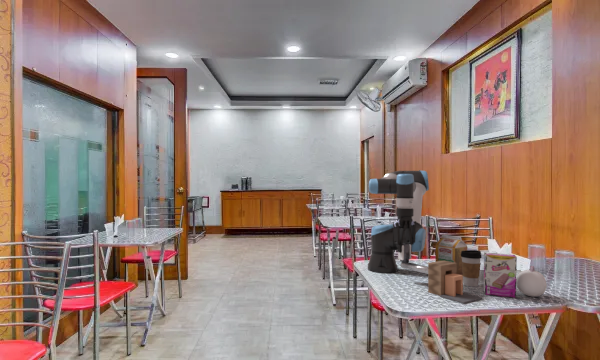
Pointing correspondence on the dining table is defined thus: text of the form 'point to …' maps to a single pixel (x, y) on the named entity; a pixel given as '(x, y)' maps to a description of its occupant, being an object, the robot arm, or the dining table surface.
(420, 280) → the dining table surface
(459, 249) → the milk carton
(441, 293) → the brown notched block
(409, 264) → the shaft
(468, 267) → the coffee cup
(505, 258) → the candy bar box
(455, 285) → the spacer
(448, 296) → the mat
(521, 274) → the ornament
